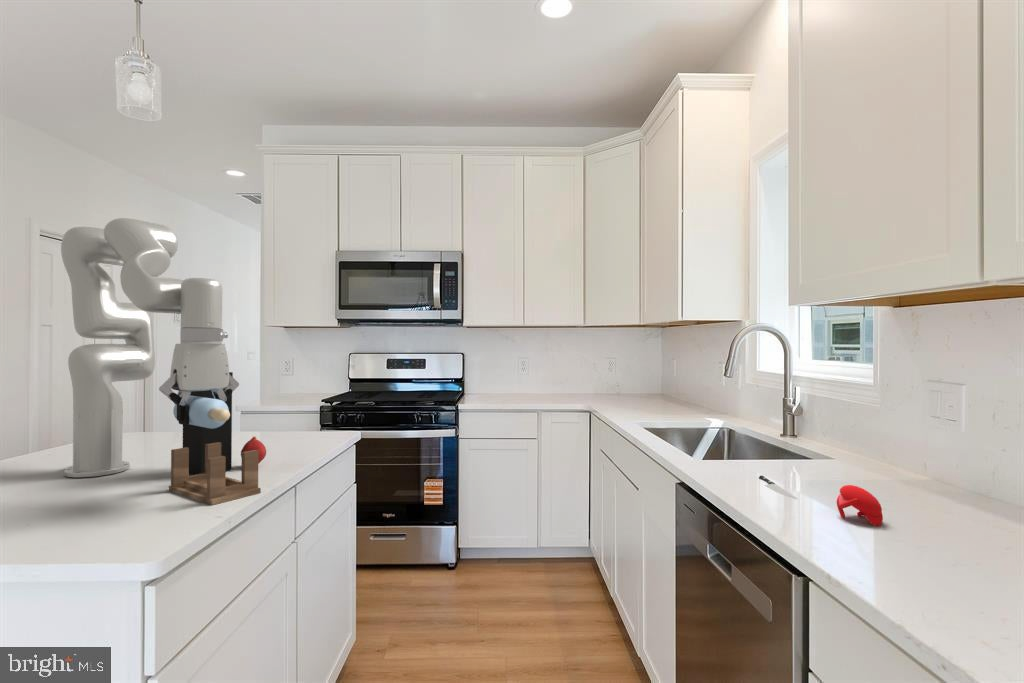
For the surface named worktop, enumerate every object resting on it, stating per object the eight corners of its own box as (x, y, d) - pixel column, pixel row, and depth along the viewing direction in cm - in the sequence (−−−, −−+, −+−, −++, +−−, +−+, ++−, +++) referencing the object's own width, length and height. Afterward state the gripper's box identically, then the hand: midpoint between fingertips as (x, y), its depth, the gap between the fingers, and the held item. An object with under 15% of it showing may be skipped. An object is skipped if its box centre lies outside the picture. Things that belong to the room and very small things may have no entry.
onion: (235, 469, 129) (235, 437, 129) (250, 463, 135) (251, 433, 135) (256, 470, 128) (256, 438, 128) (270, 464, 134) (271, 434, 134)
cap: (823, 497, 98) (845, 488, 93) (842, 484, 100) (865, 475, 95) (853, 536, 95) (878, 529, 90) (872, 521, 97) (898, 514, 92)
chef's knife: (788, 504, 105) (803, 504, 105) (788, 499, 105) (803, 498, 105) (750, 479, 125) (762, 478, 124) (750, 474, 125) (762, 474, 124)
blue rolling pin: (165, 423, 110) (164, 395, 110) (194, 419, 115) (194, 393, 115) (208, 432, 100) (208, 402, 100) (239, 428, 105) (238, 398, 105)
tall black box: (181, 473, 125) (182, 359, 125) (213, 466, 132) (214, 358, 132) (200, 477, 122) (201, 360, 122) (232, 470, 129) (233, 359, 129)
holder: (168, 490, 111) (169, 449, 111) (216, 480, 119) (216, 441, 119) (212, 505, 101) (212, 459, 101) (260, 492, 109) (260, 451, 109)
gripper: (233, 337, 117) (232, 415, 117) (147, 336, 103) (146, 425, 103) (251, 337, 113) (250, 418, 113) (163, 336, 98) (162, 429, 98)
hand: (200, 421), depth 108 cm, fingers closed on blue rolling pin, 6 cm apart
